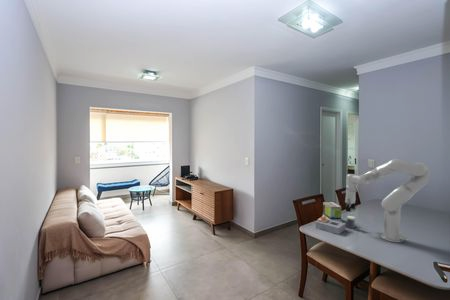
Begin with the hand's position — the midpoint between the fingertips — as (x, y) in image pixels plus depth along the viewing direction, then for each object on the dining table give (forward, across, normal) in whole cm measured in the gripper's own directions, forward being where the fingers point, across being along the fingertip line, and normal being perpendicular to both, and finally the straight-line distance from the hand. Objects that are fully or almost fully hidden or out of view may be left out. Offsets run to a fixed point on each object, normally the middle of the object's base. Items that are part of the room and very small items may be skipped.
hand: (350, 210), depth 181 cm
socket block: (+15, +13, -10) cm, 22 cm away
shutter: (+10, +13, -16) cm, 23 cm away
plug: (+15, 0, +1) cm, 15 cm away
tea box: (+16, -7, -17) cm, 24 cm away
